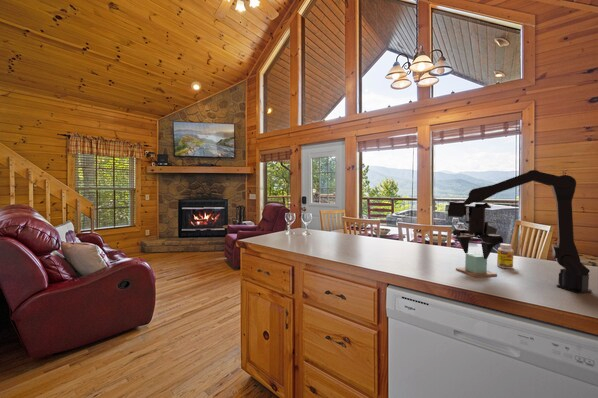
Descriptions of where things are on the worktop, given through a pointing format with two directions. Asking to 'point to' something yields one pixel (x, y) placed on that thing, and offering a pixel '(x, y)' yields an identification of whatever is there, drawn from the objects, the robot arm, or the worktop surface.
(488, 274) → the post fixture
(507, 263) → the supplement bottle
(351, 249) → the worktop surface
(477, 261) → the mint tissue box
